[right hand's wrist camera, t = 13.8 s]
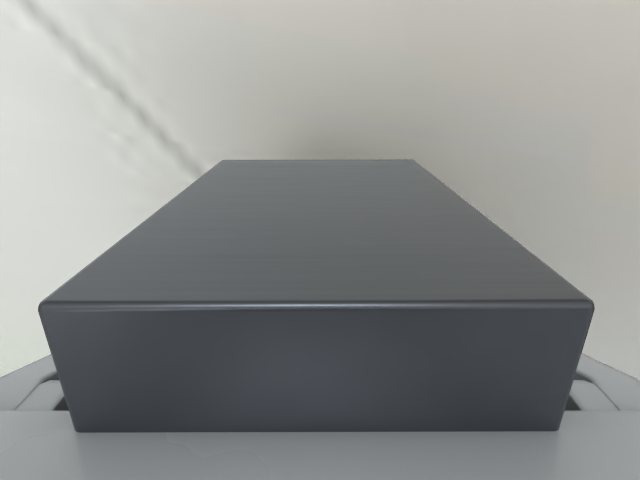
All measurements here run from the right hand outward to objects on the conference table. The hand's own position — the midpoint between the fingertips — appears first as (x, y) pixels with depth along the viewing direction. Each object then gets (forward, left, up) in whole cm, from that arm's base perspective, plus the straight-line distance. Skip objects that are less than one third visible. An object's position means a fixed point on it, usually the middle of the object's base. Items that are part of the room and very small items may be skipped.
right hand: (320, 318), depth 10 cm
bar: (+5, +8, -3) cm, 10 cm away
